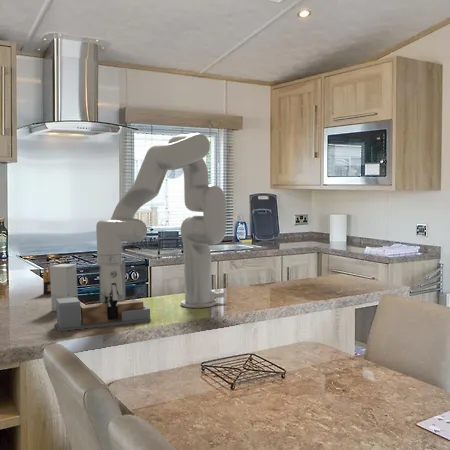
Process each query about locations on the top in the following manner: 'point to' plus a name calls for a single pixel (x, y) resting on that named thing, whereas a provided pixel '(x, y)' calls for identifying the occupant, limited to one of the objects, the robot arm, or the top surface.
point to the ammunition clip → (47, 280)
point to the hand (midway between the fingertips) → (111, 317)
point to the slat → (100, 311)
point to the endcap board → (72, 320)
